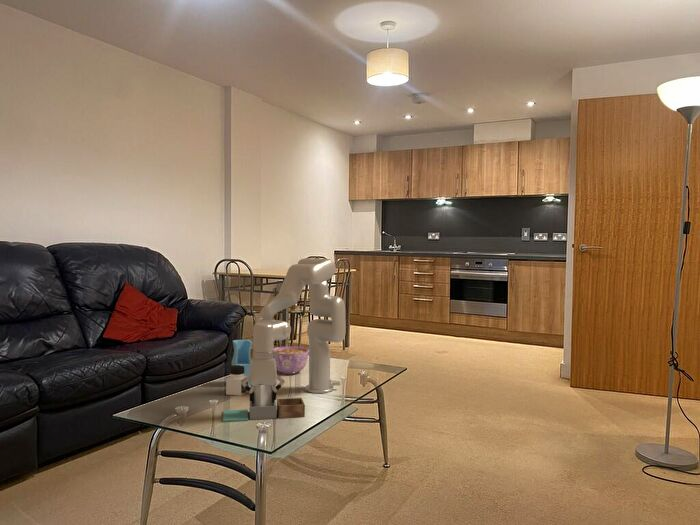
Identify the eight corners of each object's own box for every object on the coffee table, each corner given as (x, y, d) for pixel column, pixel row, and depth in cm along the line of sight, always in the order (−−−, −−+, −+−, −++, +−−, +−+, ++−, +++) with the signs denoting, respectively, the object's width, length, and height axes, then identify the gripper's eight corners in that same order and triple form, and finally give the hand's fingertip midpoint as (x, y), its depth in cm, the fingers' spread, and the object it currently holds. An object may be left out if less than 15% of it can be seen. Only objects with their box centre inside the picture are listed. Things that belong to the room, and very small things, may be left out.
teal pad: (247, 410, 201) (247, 409, 201) (248, 420, 189) (248, 419, 189) (223, 411, 199) (223, 410, 199) (222, 422, 187) (222, 420, 187)
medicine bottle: (241, 396, 221) (241, 367, 221) (225, 394, 223) (226, 366, 223) (248, 391, 228) (248, 364, 228) (232, 390, 230) (233, 363, 230)
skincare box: (265, 411, 200) (265, 380, 200) (272, 414, 197) (273, 382, 197) (252, 415, 196) (252, 383, 195) (260, 418, 193) (260, 385, 192)
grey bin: (274, 410, 202) (274, 398, 202) (276, 418, 193) (276, 406, 193) (249, 411, 200) (249, 400, 200) (250, 419, 191) (250, 407, 191)
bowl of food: (284, 379, 251) (284, 355, 251) (261, 371, 266) (262, 349, 266) (316, 373, 265) (317, 350, 264) (293, 366, 279) (293, 345, 279)
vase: (234, 387, 236) (235, 343, 235) (231, 383, 243) (231, 340, 242) (251, 385, 239) (252, 342, 238) (248, 381, 246) (248, 339, 246)
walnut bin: (301, 409, 204) (301, 397, 204) (304, 416, 195) (304, 404, 195) (276, 410, 202) (277, 398, 202) (278, 418, 193) (279, 406, 193)
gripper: (285, 353, 201) (285, 398, 202) (239, 354, 198) (239, 400, 198) (287, 357, 194) (286, 404, 194) (239, 358, 190) (239, 406, 191)
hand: (262, 402), depth 196 cm, fingers closed on skincare box, 7 cm apart
